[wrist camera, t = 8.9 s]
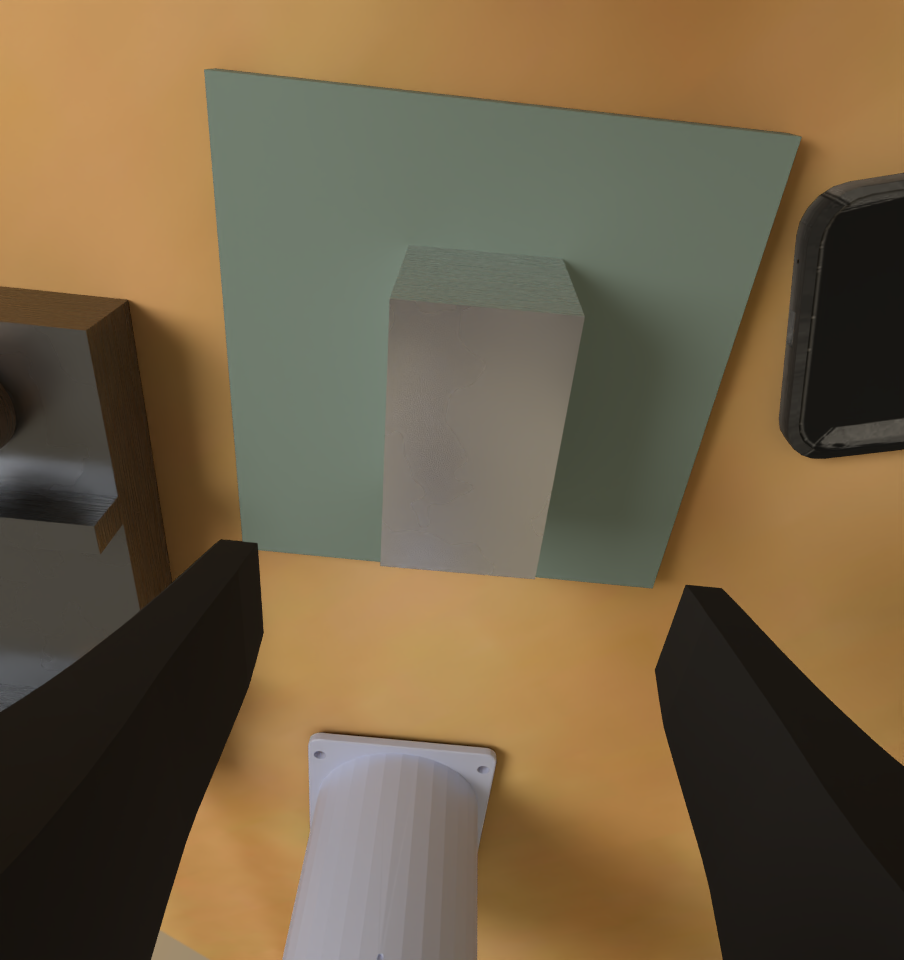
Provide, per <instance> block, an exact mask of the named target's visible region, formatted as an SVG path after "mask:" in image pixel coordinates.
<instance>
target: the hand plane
mask: <svg viewBox="0 0 904 960" xmlns="http://www.w3.org/2000/svg"><path fill="white" fill-rule="evenodd" d="M171 583H172V579H171V572H170V566H169V559H168V553H167V547H166V540H165V534H164V527H163V521H162V515H161V508H160V502H159V495H158V489H157V483H156V476H155V470H154V463H153V457H152V450H151V444H150V438H149V431H148V425H147V418H146V412H145V406H144V399H143V393H142V386H141V380H140V373H139V367H138V361H137V354H136V348H135V341H134V335H133V329H132V322H131V316H130V309H129V303H128V300H123V299H114V298H104V297H95V296H85V295H76V294H66V293H56V292H47V291H37V290H28V289H18V288H9V287H0V712H1V711H3V710H4V709H6V708H8V707H9V706H11V705H12V704H14V703H16V702H17V701H19V700H20V699H22V698H23V697H25V696H26V695H28V694H29V693H31V692H32V691H34V690H35V689H37V688H38V687H40V686H42V685H43V684H44V683H46V682H47V681H49V680H50V679H52V678H53V677H55V676H56V675H57V674H59V673H60V672H62V671H63V670H64V669H66V668H67V667H69V666H70V665H71V664H73V663H74V662H75V661H77V660H78V659H80V658H81V657H82V656H83V655H85V654H86V653H87V652H89V651H90V650H91V649H92V648H94V647H95V646H96V645H98V644H99V643H100V642H101V641H103V640H104V639H105V638H107V637H108V636H109V635H111V634H112V633H113V632H114V631H116V630H117V629H118V628H120V627H121V626H122V625H123V624H124V623H126V622H127V621H128V620H129V619H130V618H132V617H133V616H134V615H135V614H136V613H138V612H139V611H140V610H141V609H142V608H143V607H145V606H146V605H147V604H148V603H149V602H150V601H152V600H153V599H154V598H155V597H156V596H158V595H159V594H160V593H161V592H162V591H163V590H164V589H166V588H167V587H168V586H169V585H170V584H171Z"/></svg>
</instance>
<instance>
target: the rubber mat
mask: <svg viewBox="0 0 904 960" xmlns="http://www.w3.org/2000/svg"><path fill="white" fill-rule="evenodd" d="M204 73H205V85H206V98H207V110H208V122H209V134H210V147H211V159H212V171H213V184H214V196H215V208H216V220H217V233H218V245H219V257H220V270H221V282H222V294H223V307H224V319H225V331H226V343H227V356H228V368H229V380H230V393H231V405H232V417H233V429H234V442H235V454H236V466H237V479H238V491H239V503H240V515H241V528H242V540H243V542H253V543H258V550H263V551H273V552H284V553H294V554H304V555H314V556H325V557H335V558H345V559H355V560H366V561H376V562H381V533H382V504H383V475H384V446H385V417H386V388H387V359H388V330H389V301H390V296H391V293H392V290H393V288H394V285H395V282H396V279H397V276H398V274H399V271H400V268H401V265H402V262H403V260H404V257H405V254H406V251H407V249H408V246H409V245H418V246H428V247H439V248H450V249H461V250H471V251H482V252H493V253H504V254H515V255H525V256H536V257H547V258H558V259H563V261H564V264H565V266H566V269H567V271H568V274H569V277H570V279H571V282H572V284H573V287H574V290H575V292H576V295H577V297H578V300H579V302H580V305H581V308H582V310H583V313H584V315H585V319H584V324H583V329H582V335H581V340H580V345H579V350H578V356H577V361H576V366H575V371H574V377H573V382H572V387H571V392H570V398H569V403H568V408H567V413H566V419H565V424H564V429H563V434H562V440H561V445H560V450H559V455H558V461H557V466H556V471H555V476H554V482H553V487H552V492H551V498H550V503H549V508H548V513H547V519H546V524H545V529H544V534H543V540H542V545H541V550H540V555H539V561H538V566H537V571H536V576H535V577H540V578H550V579H561V580H571V581H581V582H591V583H602V584H612V585H622V586H632V587H643V588H653V585H654V582H655V579H656V576H657V573H658V570H659V567H660V564H661V561H662V558H663V555H664V552H665V549H666V546H667V543H668V540H669V537H670V534H671V531H672V528H673V525H674V522H675V519H676V516H677V513H678V510H679V507H680V504H681V501H682V498H683V495H684V492H685V489H686V485H687V482H688V479H689V476H690V473H691V470H692V467H693V464H694V461H695V458H696V455H697V452H698V449H699V446H700V443H701V440H702V437H703V434H704V431H705V428H706V425H707V422H708V419H709V416H710V413H711V410H712V407H713V404H714V401H715V398H716V395H717V392H718V389H719V386H720V383H721V380H722V377H723V374H724V370H725V367H726V364H727V361H728V358H729V355H730V352H731V349H732V346H733V343H734V340H735V337H736V334H737V331H738V328H739V325H740V322H741V319H742V316H743V313H744V310H745V307H746V304H747V301H748V298H749V295H750V292H751V289H752V286H753V283H754V280H755V277H756V274H757V271H758V268H759V265H760V262H761V259H762V256H763V252H764V249H765V246H766V243H767V240H768V237H769V234H770V231H771V228H772V225H773V222H774V219H775V216H776V213H777V210H778V207H779V204H780V201H781V198H782V195H783V192H784V189H785V186H786V183H787V180H788V177H789V174H790V171H791V168H792V165H793V162H794V159H795V156H796V153H797V150H798V147H799V144H800V141H801V137H800V136H797V135H793V134H790V133H782V132H773V131H764V130H756V129H747V128H738V127H729V126H720V125H711V124H702V123H694V122H685V121H676V120H667V119H658V118H649V117H640V116H631V115H623V114H614V113H605V112H596V111H587V110H578V109H569V108H561V107H552V106H543V105H534V104H525V103H516V102H507V101H498V100H490V99H481V98H472V97H463V96H454V95H445V94H436V93H428V92H419V91H410V90H401V89H392V88H383V87H374V86H365V85H357V84H348V83H339V82H330V81H321V80H312V79H303V78H295V77H286V76H277V75H268V74H259V73H250V72H241V71H233V70H224V69H205V70H204Z"/></svg>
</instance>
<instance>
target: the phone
mask: <svg viewBox="0 0 904 960" xmlns="http://www.w3.org/2000/svg"><path fill="white" fill-rule="evenodd" d="M797 259H799V264H798V263H797ZM795 313H796V314H795ZM779 425H780V430H781V432H782V434H783V435H784V437H785V438H786V440H787V441H788V442H789V444H790V445H791V446H792V447H793V449H794V450H796V451H797V452H798V453H800V454H801V455H803V456H806V457H809V458H814V459H826V458H834V457H843V456H852V455H860V454H869V453H877V452H886V451H895V450H903V449H904V173H900V174H894V175H888V176H881V177H875V178H869V179H862V180H856V181H850V182H846V183H843V184H840V185H837V186H834V187H832V188H830V189H829V190H827V191H826V192H824V193H822V194H821V195H819V196H818V197H817V199H816V200H815V201H814V202H813V203H812V204H811V205H810V206H809V207H808V208H807V210H806V212H805V214H804V215H803V217H802V219H801V221H800V223H799V227H798V231H797V235H796V245H795V255H794V265H793V276H792V286H791V297H790V307H789V318H788V328H787V339H786V349H785V360H784V370H783V381H782V391H781V402H780V412H779Z"/></svg>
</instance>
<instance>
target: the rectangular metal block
mask: <svg viewBox="0 0 904 960" xmlns="http://www.w3.org/2000/svg"><path fill="white" fill-rule="evenodd" d="M584 319H585V315H584V313H583V310H582V308H581V305H580V302H579V300H578V297H577V295H576V292H575V290H574V287H573V284H572V282H571V279H570V277H569V274H568V271H567V269H566V266H565V264H564V261H563V259H558V258H547V257H536V256H525V255H515V254H504V253H493V252H482V251H471V250H461V249H450V248H439V247H428V246H418V245H409V246H408V249H407V251H406V254H405V257H404V260H403V262H402V265H401V268H400V271H399V274H398V276H397V279H396V282H395V285H394V288H393V290H392V293H391V296H390V301H389V330H388V359H387V388H386V417H385V446H384V475H383V504H382V533H381V562H380V566H388V567H399V568H411V569H423V570H434V571H446V572H457V573H469V574H481V575H492V576H504V577H516V578H527V579H535V576H536V571H537V566H538V561H539V555H540V550H541V545H542V540H543V534H544V529H545V524H546V519H547V513H548V508H549V503H550V498H551V492H552V487H553V482H554V476H555V471H556V466H557V461H558V455H559V450H560V445H561V440H562V434H563V429H564V424H565V419H566V413H567V408H568V403H569V398H570V392H571V387H572V382H573V377H574V371H575V366H576V361H577V356H578V350H579V345H580V340H581V335H582V329H583V324H584Z"/></svg>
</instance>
